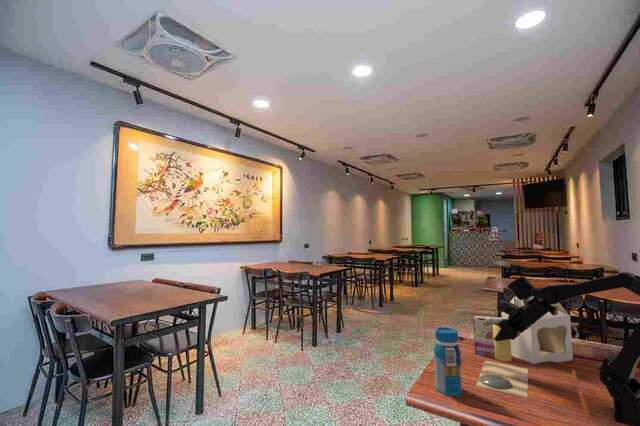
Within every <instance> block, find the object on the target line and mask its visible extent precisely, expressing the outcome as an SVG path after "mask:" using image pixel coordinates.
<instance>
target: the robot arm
mask: <svg viewBox="0 0 640 426" xmlns="http://www.w3.org/2000/svg"><path fill="white" fill-rule="evenodd" d="M506 287H507V289H508V290H509V291H510V292H511V293H512V294H513V295H514V297H517V298H518V299H519V300H521V301H522V300H523V299H524V301H523V302H526V303H524V306H521V307H518V306H516V305H514V304H513V303H511V301H509V300H507V299H504V298H503V299H500V300H499V301H498V303H496V310H498V311H501V312H504V313H506V314H508V315H509V316H508V317H509V318H508V319H504V320H502V321H501V322H499V323H498V326H499V327H500V328H501V330H500V331H499V332H498V334H497V335H496V337H495V338H494V340H495V341H502V340H508V339H512V340H514V339H515V338H517V337H518V336H519V335H520V333H522V332H524V330H527V329H528V328H529V327H531V326H532V324H534V323H535V322H536V321H537V320H539V319H540V318H541V317H543V316H544V315H545V314H547V313H548V312H550V313H551V314H552V315H558V311H557V309H558V307H557V306H552V305H551V304H557V303H560V304H561V303H563V302H566V301H568V300H571V299H574V298H577V297H579V296H584V295H589V294H590V295H591V294H594V293H600V292H605V291H610V290H614V289H621V288H623V289H626V290H628V291H630V292H632V293H633V294H635V295H637V296H639V297H640V275H637V274H634V273H632V272H630V271H621V272H618V273H617V274H612V275H608V276H604V277H598V278H595V279H594V278H593V279H589V280H585V281H580V282H576V283H575V282H573V283H572V282H571V283H570V282H569V283H553V284H548V285H545V286H543V288H542V287H541V286H540V287H535V286H534V284H533V283H531V282H530V281H529V280H528V278H527V277H526V276H524V275H522V276H519V278H516V279H515V280H513V281H511V282H510V283H509V284H508V285H507V286H506ZM533 296H534V298H533V299H531V298H532V297H533ZM529 299H531V300H529ZM639 360H640V320H639V321H638V323H637V324H636V326H635V328H634V329H633V331H632V332H631V334H630V335H629V337H628V339H627V340H626V342H625V344H624V345H623V346H622V348H621V350H620V351H619V353H618V355H615V354H614V353H610V354H608V355H607V356H605V357H604V358H603V362H602V364H601V366H600V367H598V368H597V370H598V371H599V373H598V378H599V379H600V382H601V383H602V384H603V385H604V386H605V387H606V389H607V391H608V393H609V396H610V397H612V402H613V407H612V408H610V409H609V411H610V413H611V415H612V417H613V419H614V421H616V422H621V423H623V424H628V425H632V426H640V382H639V381H638V380H637V379H636V378H635V375H636V373H637V367H638V363H639Z"/></svg>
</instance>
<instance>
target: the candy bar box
mask: <svg viewBox="0 0 640 426" xmlns="http://www.w3.org/2000/svg"><path fill="white" fill-rule="evenodd" d="M472 317H473V318H472V319H473V320H472V323H473V337H474V338H473V339H474V340H473V341H474V354H475V355H476V356H477V355H478V356H482V357H483V356H484V357H487V358H488V357H489V358H495V351H494V333H493V321H492V320H493V319H503V318H502V317H497V316H487V315H475V314H473V316H472Z"/></svg>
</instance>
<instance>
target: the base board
mask: <svg viewBox="0 0 640 426" xmlns="http://www.w3.org/2000/svg"><path fill="white" fill-rule="evenodd" d="M488 374H489V375H497V376H501V377H503V378H506V379H507V380H509V381H510V382H511V387H510V388H508V389H496V388H492V387H489V386H486V385H484V384H483V383H482V382H481V381H480V376H482V375H488ZM528 377H529V369H528V368H524V367H519V366H515V365H509V364H504V363H499V362H496V361H495V362H493V361H488V360H484V362H483V365H482V367H481V371H480V374H479V376H478V379H477V382H476V384H475V386H476V387H477V388H483V389H486V390H492V391H495V392H499V393H503V394H508V395H513V396H517V397H521V398H525V399H528V389H529V388H528V387H529V384H528V383H529V381H528V379H529V378H528Z"/></svg>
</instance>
